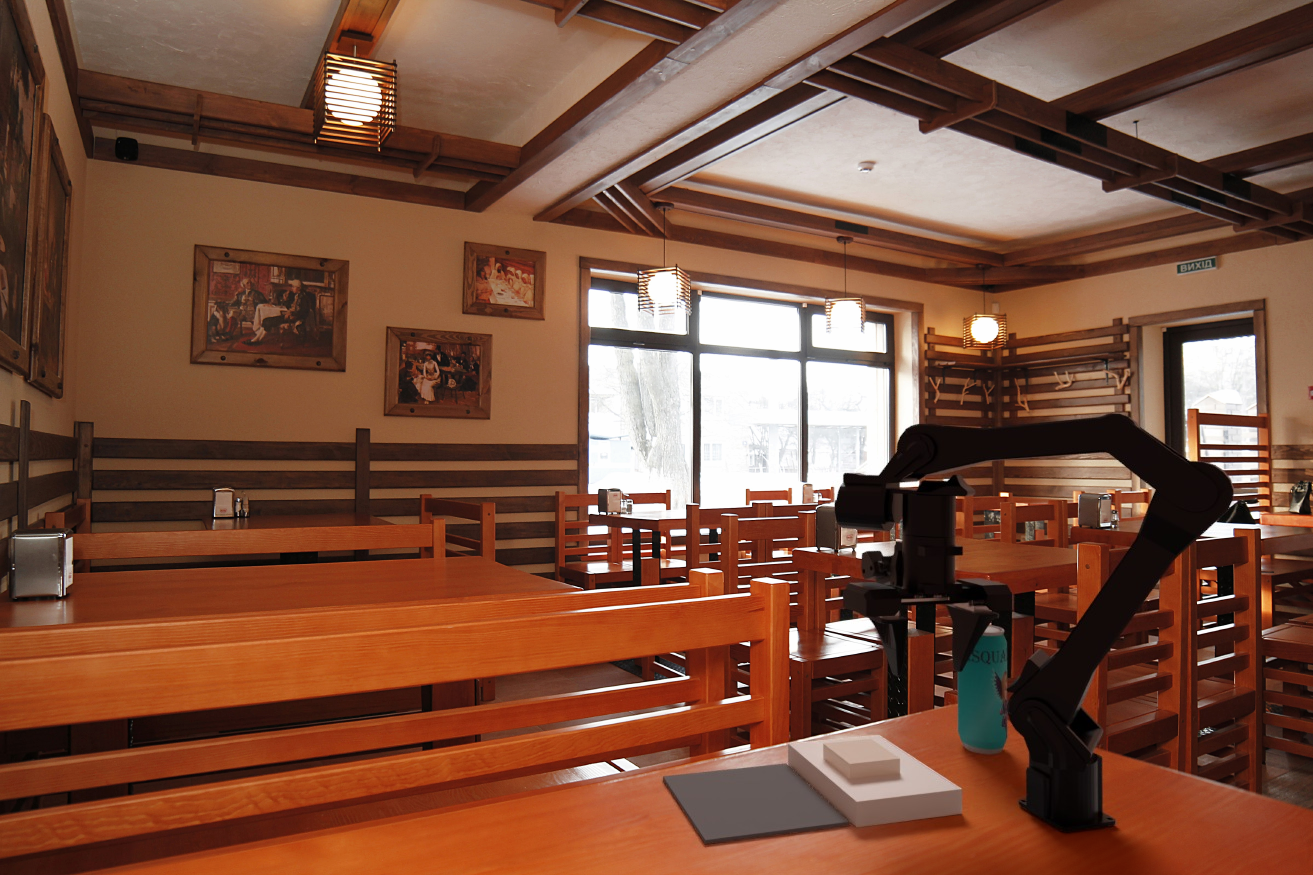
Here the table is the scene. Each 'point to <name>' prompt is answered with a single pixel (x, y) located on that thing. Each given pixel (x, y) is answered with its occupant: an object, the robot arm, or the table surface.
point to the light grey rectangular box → (877, 786)
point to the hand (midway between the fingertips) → (927, 672)
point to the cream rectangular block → (861, 758)
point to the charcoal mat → (751, 803)
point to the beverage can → (984, 695)
